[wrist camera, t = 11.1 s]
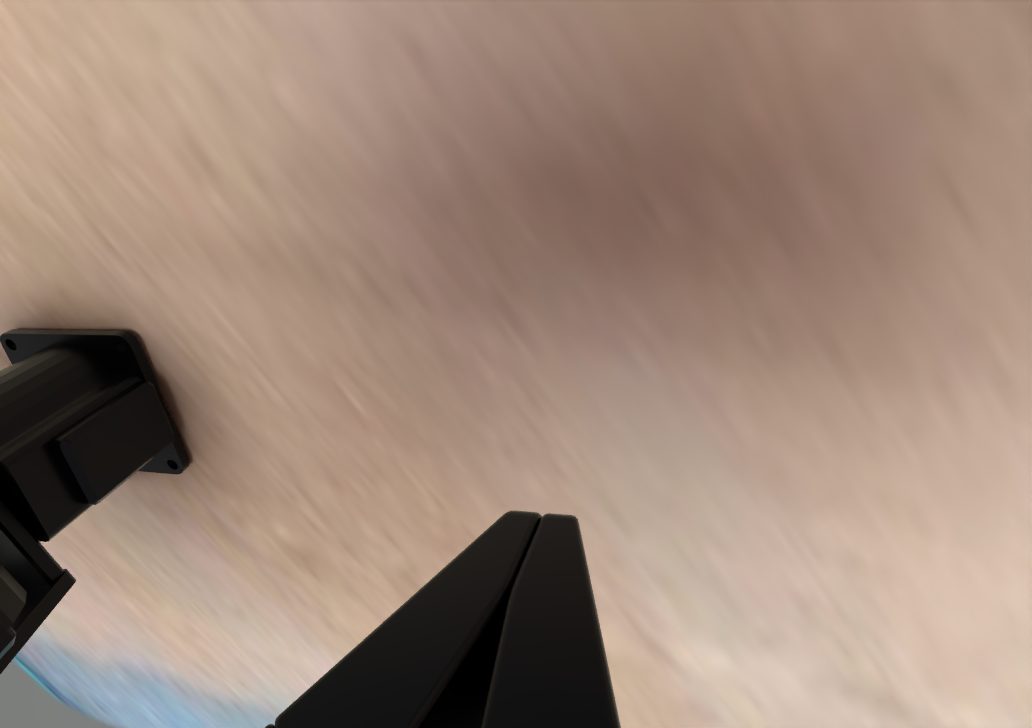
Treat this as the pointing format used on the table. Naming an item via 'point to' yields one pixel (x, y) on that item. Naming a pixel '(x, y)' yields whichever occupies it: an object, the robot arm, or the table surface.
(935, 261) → the table surface
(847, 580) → the table surface
